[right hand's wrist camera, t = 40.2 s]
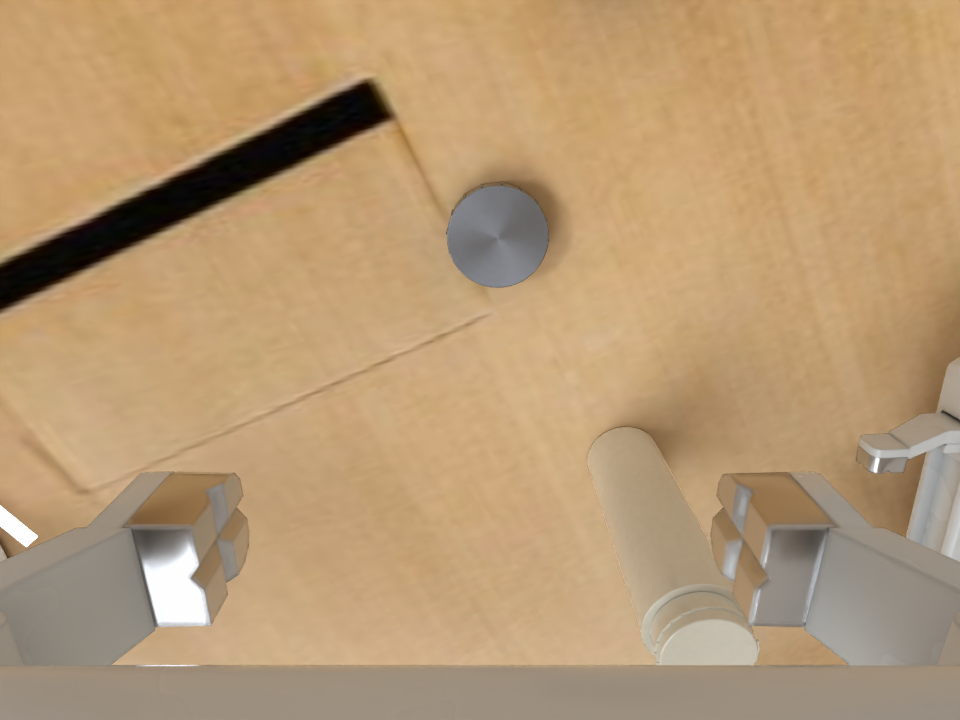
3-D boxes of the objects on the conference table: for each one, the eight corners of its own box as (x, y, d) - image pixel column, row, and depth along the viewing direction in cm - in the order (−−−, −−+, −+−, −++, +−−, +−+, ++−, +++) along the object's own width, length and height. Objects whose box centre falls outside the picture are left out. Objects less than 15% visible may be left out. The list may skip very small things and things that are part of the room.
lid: (562, 251, 37) (566, 257, 35) (478, 297, 38) (478, 305, 36) (516, 162, 35) (518, 164, 34) (429, 213, 36) (427, 218, 35)
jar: (592, 495, 43) (658, 707, 28) (581, 434, 42) (644, 623, 26) (662, 482, 43) (769, 689, 27) (654, 420, 41) (763, 603, 25)
